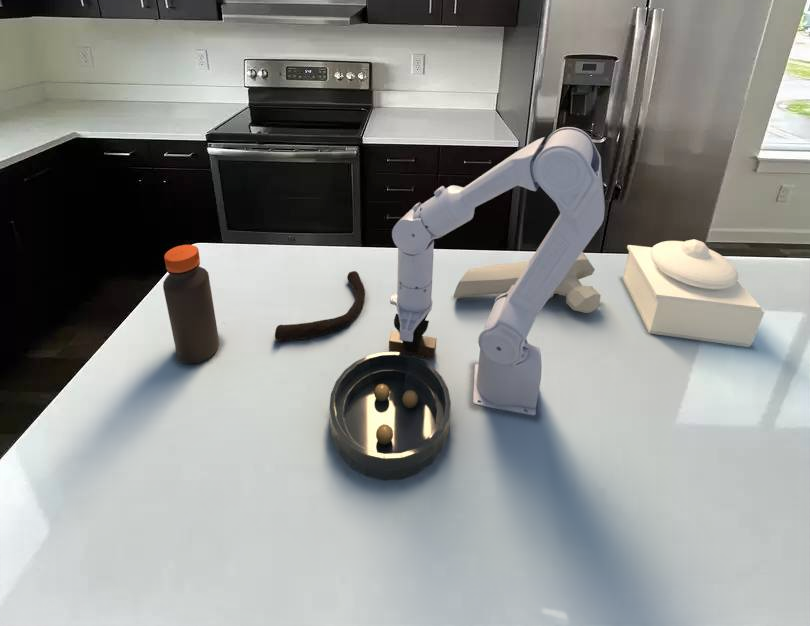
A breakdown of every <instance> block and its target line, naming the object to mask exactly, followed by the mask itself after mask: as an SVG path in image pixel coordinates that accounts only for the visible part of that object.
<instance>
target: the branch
mask: <svg viewBox="0 0 810 626" xmlns="http://www.w3.org/2000/svg"><path fill="white" fill-rule="evenodd" d="M346 279H347V281H348V284H349V285H350V286H351V287H352V290H353V293H354V297H355V298H354V302H353V303H352V305H351V307H350V308H348V311H347V312H346V313H345V314H343V315H340V316H337V317H333V318H327V319H320V320H316V321H311V322H303V323H302V322H301V323H293V324H291V323H290V324H279V325H277V326H276V328H275V332H274V339H275V340H276V341H278V342H283V343H284V342H289V341H293V340H304V339H309V338H313V337H318V336H321V335H322V336H323V335H325V334H330V333H334V332H338V331H340V330H342V329H344V328H346V326H348V325H349V324H350V323H352V322H353V321H354V320H355V319H356V318H357V317H358V316H359V314H360V313H361V312H362V311H363V309H364V307H363V306H364V302H365V300H366V299H365V298H366V289H365V286H364V284H363V282H362V280H361V276H360V273H359V272H357V271H356V270H353V271H349V272H348V274H347V276H346Z"/></svg>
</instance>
